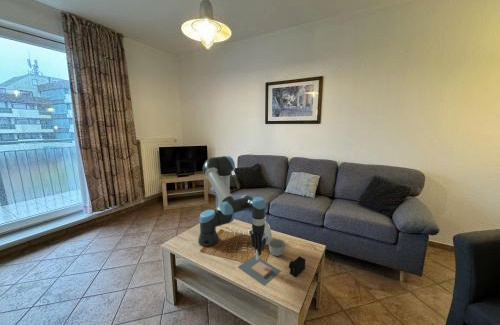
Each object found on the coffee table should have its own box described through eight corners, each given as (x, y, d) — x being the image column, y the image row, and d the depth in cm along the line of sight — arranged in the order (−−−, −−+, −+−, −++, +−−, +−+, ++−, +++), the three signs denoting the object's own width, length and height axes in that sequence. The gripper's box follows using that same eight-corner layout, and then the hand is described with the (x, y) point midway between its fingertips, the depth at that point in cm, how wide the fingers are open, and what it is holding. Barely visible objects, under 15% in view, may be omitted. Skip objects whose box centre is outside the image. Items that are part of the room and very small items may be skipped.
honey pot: (256, 235, 168) (257, 214, 165) (272, 236, 165) (273, 215, 162) (253, 244, 156) (254, 221, 152) (271, 246, 153) (271, 223, 150)
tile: (251, 267, 127) (263, 275, 120) (259, 261, 133) (272, 268, 126) (251, 270, 128) (263, 278, 121) (259, 263, 133) (272, 271, 126)
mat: (237, 267, 130) (237, 267, 130) (254, 256, 142) (254, 255, 141) (264, 286, 115) (264, 285, 115) (281, 271, 127) (281, 271, 127)
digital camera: (297, 264, 133) (297, 255, 132) (305, 269, 129) (305, 258, 128) (288, 273, 126) (288, 262, 124) (295, 277, 122) (296, 267, 121)
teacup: (283, 259, 138) (284, 248, 137) (267, 257, 140) (267, 246, 139) (284, 247, 152) (285, 237, 150) (269, 245, 154) (270, 235, 152)
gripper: (246, 221, 125) (246, 256, 130) (262, 229, 116) (262, 266, 121) (254, 217, 130) (254, 251, 135) (271, 224, 121) (270, 260, 126)
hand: (258, 258), depth 128 cm, fingers closed
